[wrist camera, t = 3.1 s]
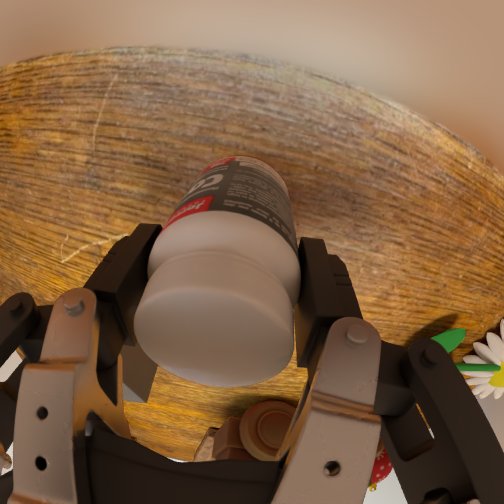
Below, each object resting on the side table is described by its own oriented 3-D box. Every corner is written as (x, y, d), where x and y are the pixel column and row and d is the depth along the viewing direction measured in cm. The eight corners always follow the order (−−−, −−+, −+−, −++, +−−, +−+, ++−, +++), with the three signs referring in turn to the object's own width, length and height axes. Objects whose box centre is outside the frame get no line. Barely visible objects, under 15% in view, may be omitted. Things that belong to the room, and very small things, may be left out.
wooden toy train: (206, 421, 30) (190, 536, 16) (227, 386, 23) (208, 553, 10) (342, 434, 32) (347, 532, 18) (392, 403, 26) (409, 524, 12)
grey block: (86, 314, 19) (61, 362, 15) (130, 309, 18) (105, 366, 14) (118, 352, 22) (100, 397, 18) (162, 351, 21) (147, 403, 17)
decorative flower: (294, 367, 25) (495, 381, 22) (290, 410, 20) (504, 408, 18) (341, 257, 18) (550, 311, 16) (349, 303, 14) (567, 338, 12)
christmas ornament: (375, 448, 40) (379, 490, 32) (337, 452, 40) (340, 497, 31) (399, 434, 35) (406, 481, 27) (359, 440, 35) (364, 491, 26)
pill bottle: (219, 135, 11) (142, 229, 4) (309, 187, 13) (352, 329, 6) (177, 216, 14) (106, 351, 7) (257, 257, 15) (246, 405, 8)
